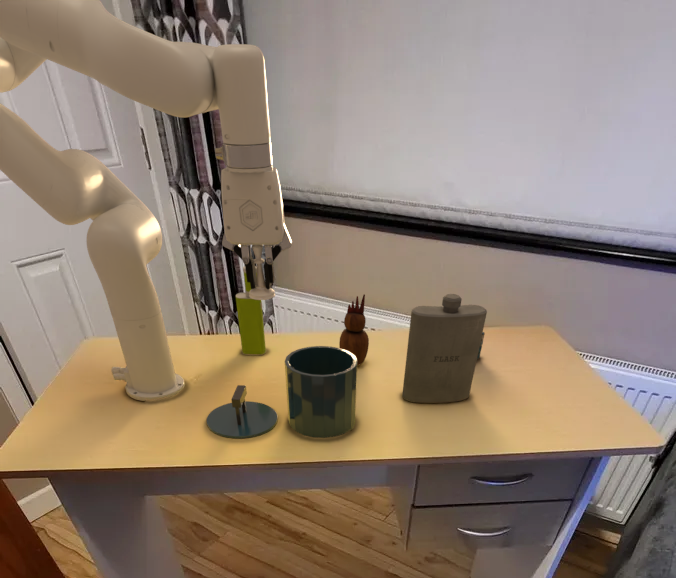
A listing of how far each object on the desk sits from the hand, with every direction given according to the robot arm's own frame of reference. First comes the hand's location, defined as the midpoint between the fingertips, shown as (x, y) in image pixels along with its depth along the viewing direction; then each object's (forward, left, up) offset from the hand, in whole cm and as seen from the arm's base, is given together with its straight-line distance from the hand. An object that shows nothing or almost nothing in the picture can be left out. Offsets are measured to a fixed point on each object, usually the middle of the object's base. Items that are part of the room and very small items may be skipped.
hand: (261, 286), depth 95 cm
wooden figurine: (+17, +19, -22) cm, 33 cm away
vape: (-8, +23, -22) cm, 33 cm away
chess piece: (0, 0, -2) cm, 2 cm away
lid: (-4, -12, -21) cm, 24 cm away
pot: (+12, -10, -21) cm, 27 cm away
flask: (+36, +3, -22) cm, 42 cm away
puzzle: (+44, +24, -22) cm, 55 cm away
